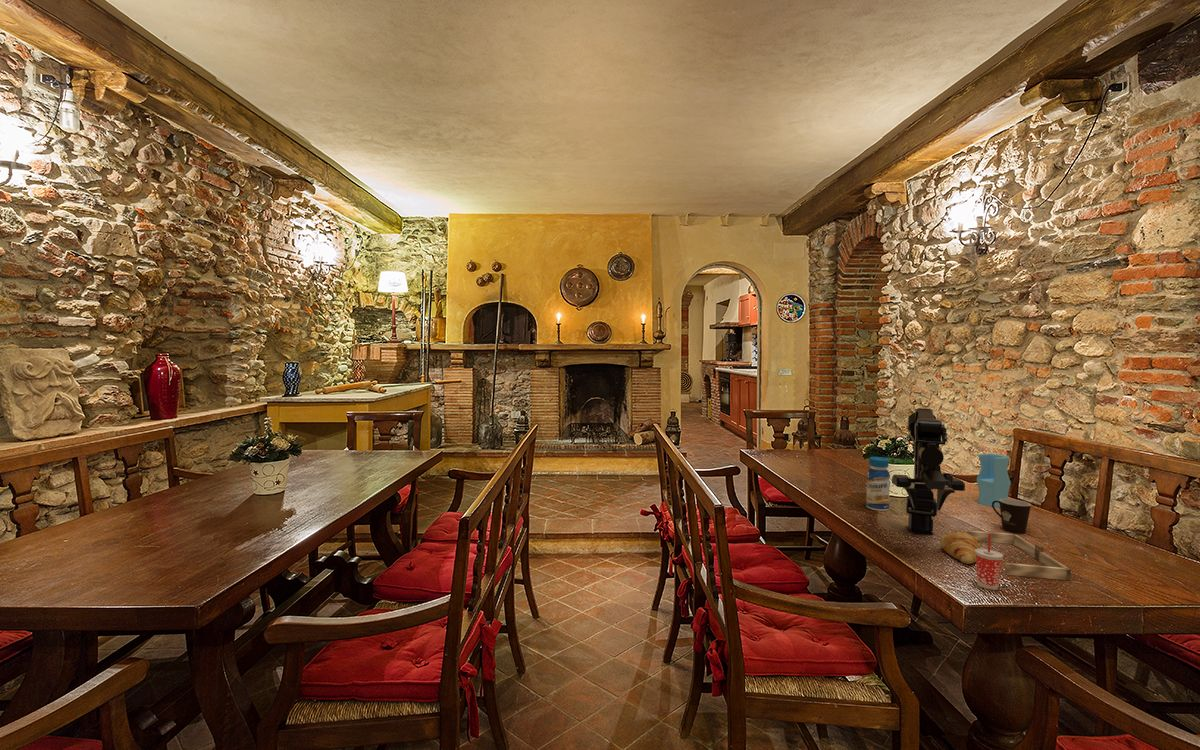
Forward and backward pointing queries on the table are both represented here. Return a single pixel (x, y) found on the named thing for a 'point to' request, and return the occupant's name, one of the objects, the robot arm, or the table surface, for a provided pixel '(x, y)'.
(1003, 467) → the vase
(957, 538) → the croissant
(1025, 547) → the frame
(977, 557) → the beverage cup
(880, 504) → the beverage bottle
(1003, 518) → the coffee mug
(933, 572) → the table surface
